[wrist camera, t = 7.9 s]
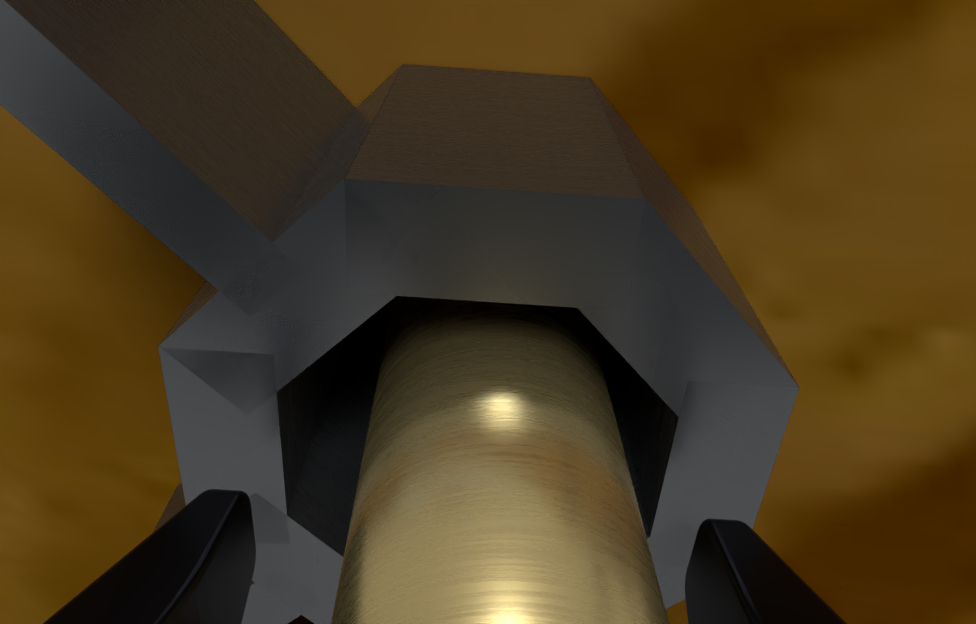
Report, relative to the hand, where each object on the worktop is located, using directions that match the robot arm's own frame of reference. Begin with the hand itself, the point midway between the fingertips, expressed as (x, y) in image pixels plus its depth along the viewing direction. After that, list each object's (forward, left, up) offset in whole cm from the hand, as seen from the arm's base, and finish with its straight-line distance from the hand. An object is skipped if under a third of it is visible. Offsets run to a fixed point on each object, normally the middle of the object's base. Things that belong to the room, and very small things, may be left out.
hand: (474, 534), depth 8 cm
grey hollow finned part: (+2, +2, -6) cm, 7 cm away
